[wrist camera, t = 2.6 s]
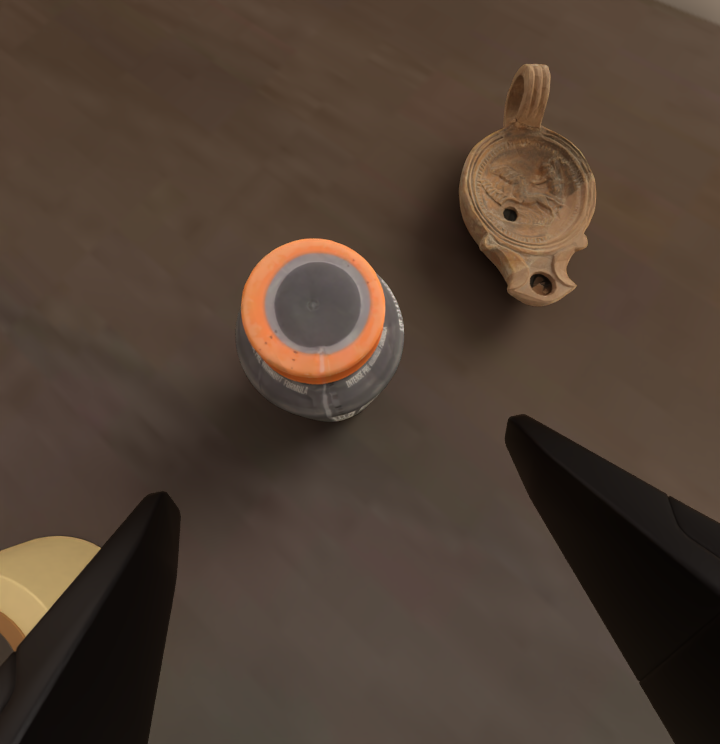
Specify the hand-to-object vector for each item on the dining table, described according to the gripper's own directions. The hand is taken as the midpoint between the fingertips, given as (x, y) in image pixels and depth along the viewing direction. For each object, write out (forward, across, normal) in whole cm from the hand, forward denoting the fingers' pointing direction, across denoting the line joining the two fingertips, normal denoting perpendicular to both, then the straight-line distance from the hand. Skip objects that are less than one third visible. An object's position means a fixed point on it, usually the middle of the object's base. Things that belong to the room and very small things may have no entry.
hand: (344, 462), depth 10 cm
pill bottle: (+11, 0, +5) cm, 12 cm away
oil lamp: (+16, -13, 0) cm, 20 cm away
